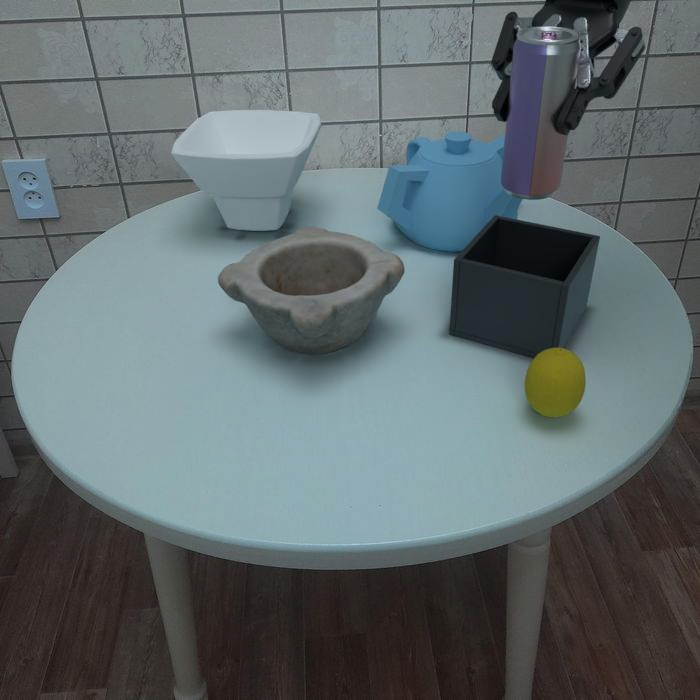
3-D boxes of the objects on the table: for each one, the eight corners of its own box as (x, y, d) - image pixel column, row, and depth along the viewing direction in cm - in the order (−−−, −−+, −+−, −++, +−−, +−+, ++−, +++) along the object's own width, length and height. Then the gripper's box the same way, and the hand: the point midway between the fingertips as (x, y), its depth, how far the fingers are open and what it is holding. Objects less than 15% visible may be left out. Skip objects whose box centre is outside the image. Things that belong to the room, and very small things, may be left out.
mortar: (214, 335, 84) (202, 266, 79) (320, 280, 93) (316, 215, 88) (312, 398, 74) (306, 324, 69) (419, 330, 84) (421, 260, 78)
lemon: (509, 415, 71) (517, 348, 66) (543, 390, 74) (553, 325, 69) (556, 443, 68) (568, 375, 63) (589, 416, 71) (604, 349, 66)
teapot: (376, 250, 100) (376, 153, 92) (401, 195, 115) (403, 108, 107) (517, 264, 96) (530, 163, 88) (524, 205, 111) (536, 115, 103)
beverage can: (497, 199, 72) (513, 40, 63) (501, 176, 77) (516, 25, 68) (559, 203, 71) (583, 42, 62) (559, 179, 76) (582, 26, 67)
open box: (586, 309, 86) (600, 235, 81) (555, 364, 78) (569, 286, 72) (487, 285, 91) (494, 214, 86) (448, 334, 83) (453, 259, 77)
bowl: (331, 198, 115) (327, 110, 106) (307, 256, 99) (301, 158, 91) (217, 194, 117) (205, 108, 109) (177, 250, 102) (159, 154, 93)
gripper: (525, -67, 70) (451, 90, 69) (676, -58, 62) (594, 117, 62) (544, -14, 76) (476, 129, 76) (683, -1, 68) (608, 158, 68)
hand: (529, 123), depth 69 cm, fingers closed on beverage can, 6 cm apart
